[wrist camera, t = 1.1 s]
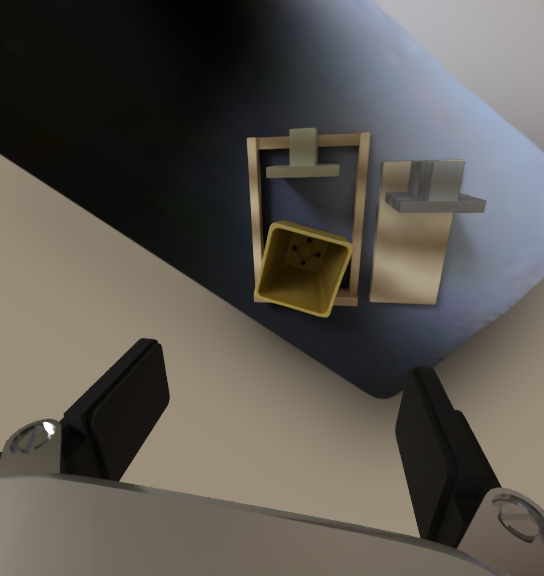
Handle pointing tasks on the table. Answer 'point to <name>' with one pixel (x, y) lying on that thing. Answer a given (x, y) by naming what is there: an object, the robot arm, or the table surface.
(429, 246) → the beige l-shaped piece
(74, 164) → the table surface
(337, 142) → the wooden frame with block
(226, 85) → the table surface
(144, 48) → the table surface
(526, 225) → the table surface
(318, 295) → the flower pot
